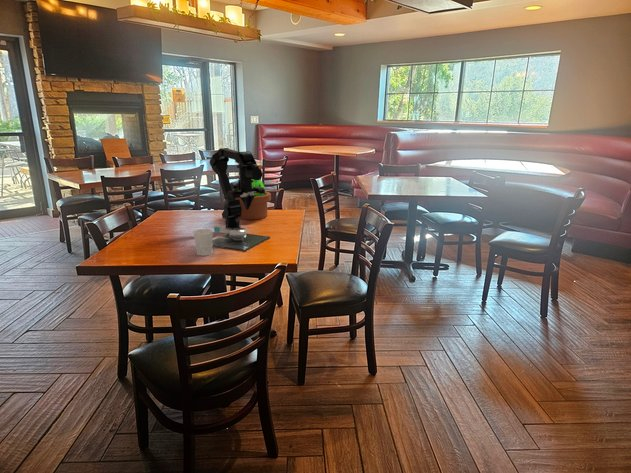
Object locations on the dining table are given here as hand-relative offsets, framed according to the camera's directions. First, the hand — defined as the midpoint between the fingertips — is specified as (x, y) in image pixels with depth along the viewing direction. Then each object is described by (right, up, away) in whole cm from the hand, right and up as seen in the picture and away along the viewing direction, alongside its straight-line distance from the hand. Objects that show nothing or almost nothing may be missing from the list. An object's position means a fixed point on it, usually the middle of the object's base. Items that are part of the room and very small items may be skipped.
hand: (247, 209), depth 203 cm
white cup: (-15, -21, -23) cm, 35 cm away
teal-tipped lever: (-7, -13, -6) cm, 16 cm away
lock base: (-3, -16, -7) cm, 18 cm away
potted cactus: (-4, -2, +40) cm, 40 cm away
